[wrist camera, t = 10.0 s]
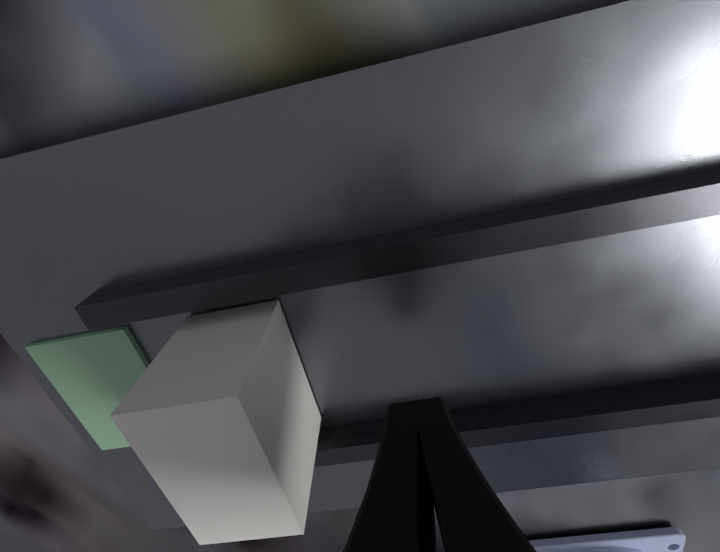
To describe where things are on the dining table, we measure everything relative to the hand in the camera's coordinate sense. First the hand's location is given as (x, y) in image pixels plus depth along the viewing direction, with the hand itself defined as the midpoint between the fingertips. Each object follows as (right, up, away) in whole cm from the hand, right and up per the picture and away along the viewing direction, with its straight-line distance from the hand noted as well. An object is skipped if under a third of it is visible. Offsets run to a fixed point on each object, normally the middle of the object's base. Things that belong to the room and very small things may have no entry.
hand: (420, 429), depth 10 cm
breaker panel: (+1, +2, +4) cm, 5 cm away
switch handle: (-5, +1, +3) cm, 6 cm away
